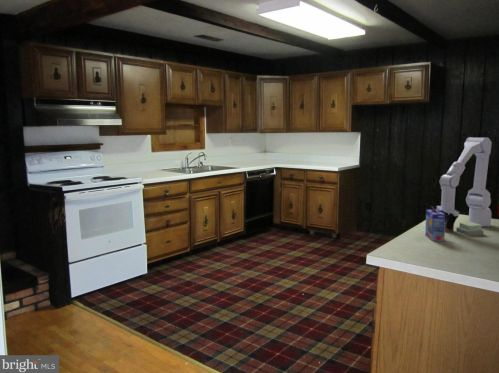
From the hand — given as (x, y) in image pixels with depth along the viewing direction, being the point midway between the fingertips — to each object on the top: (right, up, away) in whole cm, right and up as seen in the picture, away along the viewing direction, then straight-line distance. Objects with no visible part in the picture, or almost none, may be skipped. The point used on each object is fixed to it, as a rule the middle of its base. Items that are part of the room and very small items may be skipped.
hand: (446, 227), depth 196 cm
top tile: (+9, 0, -5) cm, 10 cm away
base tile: (+9, -3, -4) cm, 10 cm away
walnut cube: (0, -2, 0) cm, 2 cm away
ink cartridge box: (-11, -4, -12) cm, 17 cm away
